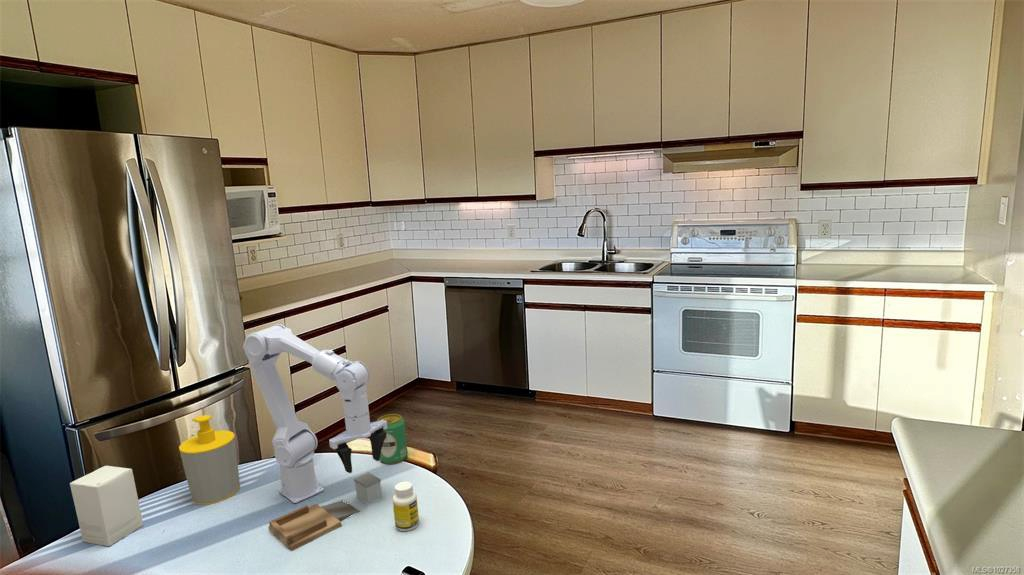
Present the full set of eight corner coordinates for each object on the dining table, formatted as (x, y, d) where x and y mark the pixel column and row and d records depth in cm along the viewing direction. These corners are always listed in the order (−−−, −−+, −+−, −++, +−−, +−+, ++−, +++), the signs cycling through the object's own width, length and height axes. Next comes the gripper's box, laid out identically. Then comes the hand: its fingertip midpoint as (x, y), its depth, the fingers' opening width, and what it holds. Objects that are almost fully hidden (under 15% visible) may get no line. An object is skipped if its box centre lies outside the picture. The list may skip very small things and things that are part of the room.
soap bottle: (218, 477, 161) (205, 405, 158) (254, 483, 157) (242, 409, 153) (176, 502, 150) (162, 425, 146) (213, 509, 145) (200, 430, 141)
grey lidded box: (356, 496, 146) (353, 478, 145) (370, 490, 149) (368, 472, 148) (368, 504, 142) (365, 486, 141) (382, 497, 145) (380, 479, 144)
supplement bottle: (414, 532, 129) (410, 492, 127) (391, 531, 130) (387, 491, 129) (422, 518, 134) (418, 480, 133) (400, 517, 136) (396, 479, 134)
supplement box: (145, 525, 140) (133, 467, 137) (109, 547, 132) (96, 487, 129) (118, 520, 143) (106, 464, 140) (81, 542, 135) (68, 482, 132)
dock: (269, 532, 134) (267, 520, 134) (339, 499, 147) (338, 488, 146) (292, 553, 126) (290, 540, 125) (364, 516, 138) (363, 504, 138)
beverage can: (375, 464, 163) (370, 424, 161) (385, 451, 170) (381, 413, 168) (402, 465, 161) (397, 424, 159) (411, 451, 169) (407, 413, 167)
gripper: (337, 427, 131) (343, 482, 134) (391, 407, 141) (397, 459, 144) (322, 419, 136) (329, 473, 139) (376, 401, 146) (381, 451, 149)
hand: (362, 465), depth 141 cm, fingers open, 7 cm apart
